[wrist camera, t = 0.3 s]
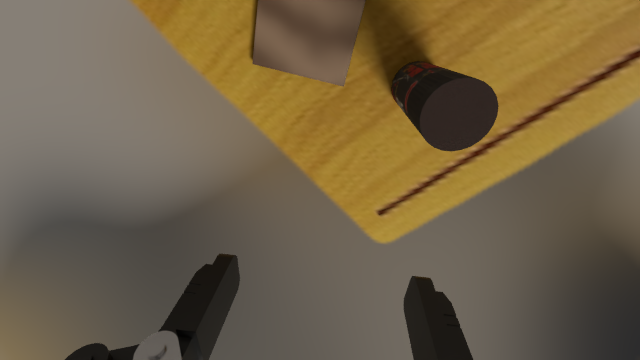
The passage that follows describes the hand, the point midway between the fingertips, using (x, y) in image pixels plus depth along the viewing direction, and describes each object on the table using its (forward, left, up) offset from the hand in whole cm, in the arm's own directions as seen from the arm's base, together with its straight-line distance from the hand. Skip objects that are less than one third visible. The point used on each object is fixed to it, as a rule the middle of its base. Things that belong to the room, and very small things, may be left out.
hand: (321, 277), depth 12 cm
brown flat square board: (-10, -6, -28) cm, 31 cm away
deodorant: (-6, +9, -29) cm, 31 cm away
